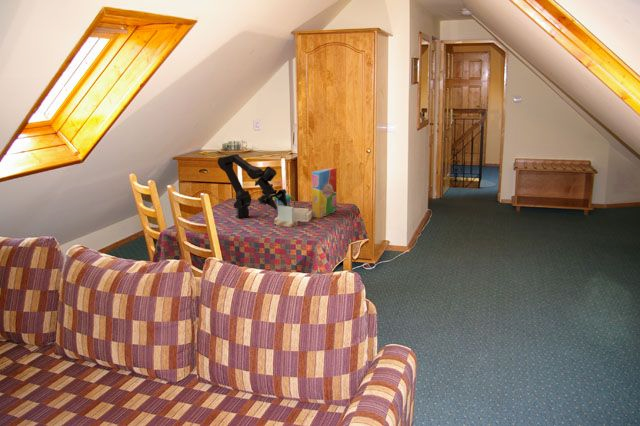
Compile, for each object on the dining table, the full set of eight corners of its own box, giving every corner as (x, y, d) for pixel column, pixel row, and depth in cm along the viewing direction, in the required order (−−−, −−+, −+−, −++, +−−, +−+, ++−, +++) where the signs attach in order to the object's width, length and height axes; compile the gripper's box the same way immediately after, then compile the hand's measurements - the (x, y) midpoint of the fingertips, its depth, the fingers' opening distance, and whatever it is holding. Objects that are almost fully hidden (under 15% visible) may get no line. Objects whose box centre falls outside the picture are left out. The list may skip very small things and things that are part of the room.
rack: (274, 220, 333) (274, 212, 332) (279, 215, 344) (279, 207, 343) (308, 221, 330) (308, 213, 328) (312, 216, 341) (312, 208, 340)
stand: (274, 224, 325) (274, 220, 324) (281, 222, 329) (281, 218, 329) (291, 227, 318) (291, 223, 317) (297, 224, 323) (297, 221, 322)
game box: (319, 218, 337) (319, 172, 331) (311, 217, 340) (311, 172, 334) (336, 211, 355) (336, 167, 348) (329, 210, 357) (328, 167, 351)
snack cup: (294, 209, 361) (294, 193, 359) (296, 213, 351) (296, 196, 349) (269, 210, 359) (269, 194, 357) (270, 214, 349) (270, 197, 347)
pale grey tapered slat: (278, 222, 326) (277, 205, 323) (280, 222, 327) (279, 205, 325) (292, 225, 320) (291, 207, 318) (294, 224, 321) (293, 207, 319)
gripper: (269, 192, 339) (284, 213, 335) (247, 198, 324) (263, 219, 320) (279, 180, 332) (294, 201, 329) (257, 185, 318) (274, 207, 314)
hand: (281, 207), depth 323 cm, fingers open, 9 cm apart
